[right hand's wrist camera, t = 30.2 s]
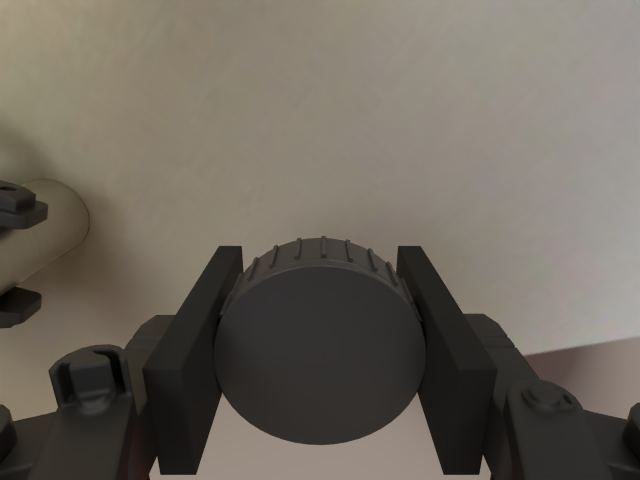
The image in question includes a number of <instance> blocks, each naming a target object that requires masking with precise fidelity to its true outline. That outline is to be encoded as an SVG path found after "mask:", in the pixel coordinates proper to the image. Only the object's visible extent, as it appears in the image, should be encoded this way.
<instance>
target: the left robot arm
mask: <svg viewBox="0 0 640 480" xmlns="http://www.w3.org/2000/svg"><path fill="white" fill-rule="evenodd" d="M47 218H48V204H46V203H44V202H41V201H37V200H36V194H35V193H34V192H32V191H30V190H29V189H27V188H26V187H22V186H19V185H15V184H11V183H8V182H4V181H0V226H4V227H8V228H12V229H18V230H23V229H29V228H31V227H33V226H35V225H37V224H39V223H41V222H43V221H45V220H47ZM41 299H42V295H41V294H40V293H37V292H34V291H30V290H26V289H22V288H18V287H13V288H12V289H10V290H9V291H7V292H6V293H4V294H3V295H1V296H0V328H11V327H12V326H13V325H16V324H20V323H23V322H24V321H26V320H27V319H28V318H29V317H31V316H32V315H33V314H34V313H36V312H37V311H38V310H39V309H40V308H41Z"/></svg>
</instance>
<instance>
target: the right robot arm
mask: <svg viewBox="0 0 640 480" xmlns="http://www.w3.org/2000/svg"><path fill="white" fill-rule="evenodd" d="M240 273H242V274H243V259H242V246H219V247H218V249H217V250H216V252H215V254H214V255H213V257H212V258H211V260H210V262H209V263H208V265H207V266H206V268H205V269H204V271H203V273H202V274H201V276H200V277H199V279H198V281H197V282H196V284H195V285H194V287H193V288H192V290H191V292H190V293H189V295H188V296H187V298H186V300H185V301H184V303H183V304H182V306H181V307H180V309H179V311H178V312H177V314H176V315H156V316H155V317H153V318H152V319H150V320H149V321H147V322H146V323H144V324H143V325H141V327H140V328H139V329H138V331H137V332H136V333H135V335H134V336H133V339H131V340H130V341H129V343H128V344H127V345H126V347H125V349H122V348H120V347H118V346H114V345H110V344H107V345H94V346H89V347H85V348H81V349H79V350H76V351H74V352H72V353H69V354H67V355H66V356H64V357H63V358H61V359H60V360H58V361H57V362H55V364H54V365H53V366H52V367H51V368H50V369H49V375H50V379H51V382H52V386H53V390H54V393H55V397H56V401H57V404H58V409H57V411H56V412H52V413H49V414H45V415H40V416H36V417H31V418H27V419H22V420H18V421H13V420H12V417H11V414H10V410H9V409H7V408H6V407H5V406H4V405H0V480H150V478H149V473H150V470H151V468H152V466H153V464H154V461H155V459H156V457H158V463H159V469H160V474H161V475H196V473H197V470H198V467H199V464H200V460H201V457H202V454H203V451H204V448H205V445H206V442H207V439H208V435H209V432H210V429H211V426H212V423H213V420H214V417H215V413H216V410H217V407H218V404H219V401H220V398H221V395H222V390H221V388H220V386H219V384H218V381H217V378H216V375H215V368H214V358H213V344H214V338H215V334H216V331H217V327H218V325H219V323H220V321H221V318H218V317H219V314H220V312H221V310H222V307H223V305H224V303H225V301H226V298H227V296H228V294H229V292H230V291H231V292H232V289H233V287H234V285H235V282H236V280H237V278H238V276H239V274H240ZM396 274H397V275H398V277H399V278H400V279H402V278H403V279H404V281H405V283H406V285H407V288H408V290H409V292H410V294H411V297H412V299H413V301H414V303H415V305H416V308H417V310H418V312H419V314H420V317H421V319H422V321H423V325H421V327H422V330H423V333H424V336H425V342H426V348H427V353H426V365H425V373H424V376H423V379H422V382H421V385H420V387H419V389H418V391H417V392H418V395H419V399H420V402H421V405H422V408H423V411H424V414H425V417H426V421H427V424H428V427H429V430H430V433H431V436H432V439H433V442H434V446H435V449H436V452H437V455H438V458H439V461H440V464H441V468H442V471H443V474H444V475H479V473H480V467H481V461H482V456H483V455H484V458H485V460H486V462H487V464H488V467H489V469H490V471H491V478H490V480H640V403H637V404H635V405H634V406H633V407H632V408H631V409H630V412H629V416H628V419H627V420H626V419H622V418H617V417H612V416H608V415H603V414H599V413H594V412H590V411H587V410H583V408H582V406H581V404H580V403H579V402H578V400H577V399H576V398H575V397H574V396H573V395H572V394H571V393H569V392H568V391H567V390H565V389H564V388H562V387H560V386H558V385H556V384H554V383H552V382H549V381H545V380H541V379H540V378H539V377H538V376H537V374H536V373H535V372H534V370H533V369H532V368H531V366H530V365H529V364H528V362H527V361H526V360H525V358H524V357H523V356H522V355H521V353H520V352H519V351H518V349H517V348H515V345H514V344H513V343H512V341H511V340H510V339H509V338H507V335H506V333H505V332H504V331H503V329H502V328H501V327H500V325H499V324H498V323H496V322H495V321H493V320H492V319H490V318H489V317H487V316H486V315H484V314H463V313H462V311H461V310H460V308H459V306H458V305H457V303H456V302H455V300H454V298H453V297H452V295H451V294H450V292H449V290H448V289H447V287H446V286H445V284H444V283H443V281H442V279H441V278H440V276H439V275H438V273H437V271H436V270H435V268H434V267H433V265H432V264H431V262H430V260H429V259H428V257H427V256H426V254H425V252H424V251H423V249H422V248H421V246H398V255H397V270H396Z"/></svg>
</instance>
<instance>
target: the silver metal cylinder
mask: <svg viewBox="0 0 640 480" xmlns="http://www.w3.org/2000/svg"><path fill="white" fill-rule="evenodd" d="M19 186H22V187H26V188H27V189H29V190H30V191H32V192H34V193H35V194H36V200H37V201H41V202H44V203H46V204H48V218H47V220H45V221H43V222H41V223H39V224H37V225H35V226H33V227H31V228H29V229H23V230H18V229H12V228H8V227H4V226H0V296H1V295H3V294H4V293H6V292H7V291H9V290H10V289H12V288H13V287H15V286H16V285H18V284H19V283H21V282H22V281H24V280H25V279H27V278H28V277H30V276H31V275H33V274H34V273H36V272H37V271H39V270H40V269H42V268H43V267H45V266H46V265H48V264H49V263H51V262H52V261H54V260H55V259H57V258H58V257H60V256H62V255H63V254H65V253H66V252H68V251H69V250H71V249H72V248H74V247H75V246H77V245H78V244H79V243H81V242H82V241H83V239H84V238H85V236H86V234H87V232H88V228H89V216H88V212H87V209H86V207H85V205H84V203H83V201H82V200H81V199H80V197H79V196H78V195H77V194H76V193H75V192H74V191H73V190H72V189H70V188H69V187H67V186H66V185H64V184H62V183H59V182H57V181H53V180H48V179H37V180H33V181H30V182H27V183H24V184H21V185H19Z"/></svg>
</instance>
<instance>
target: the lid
mask: <svg viewBox="0 0 640 480" xmlns="http://www.w3.org/2000/svg"><path fill="white" fill-rule="evenodd" d="M218 318H221V321H220V323H219V325H218V327H217V331H216V334H215V338H214V344H213V358H214V368H215V375H216V378H217V381H218V384H219V386H220V388H221V390H222V392H223V394H224V396H225V397H226V399H227V400H228V402H229V403H230V404H231V406H232V407H233V408H234V409H235V410H236V411H237V412H238V413H239V414H240V415H241V416H242V417H243V418H244V419H245V420H247V421H248V422H249V423H250V424H252V425H254V426H255V427H257V428H258V429H260V430H262V431H264V432H266V433H268V434H270V435H272V436H275V437H278V438H280V439H283V440H287V441H291V442H295V443H302V444H310V445H329V444H338V443H344V442H349V441H352V440H356V439H359V438H362V437H364V436H367V435H370V434H372V433H374V432H376V431H377V430H379V429H381V428H383V427H384V426H386V425H387V424H389V423H390V422H392V421H393V420H394V419H395V418H396V417H397V416H399V415H400V414H401V413H402V412H403V411H404V409H405V408H406V407H407V406H408V405H409V404H410V402H411V401H412V399H413V398H414V396H415V395H416V393H417V391H418V389H419V387H420V385H421V382H422V379H423V376H424V373H425V365H426V353H427V348H426V342H425V336H424V333H423V330H422V327H421V325H423V321H422V319H421V317H420V314H419V312H418V310H417V308H416V305H415V303H414V301H413V299H412V297H411V294H410V292H409V290H408V288H407V285H406V283H405V281H404V279H403V278H402V279H400V278H399V277H398V275H397V274H396V273H395V271H394V270H393V268H392V265H391V263H390V262H389V261H388V262H387V263H386V262H385V261H383V260H382V259H381V258H380V257H379V256H377V255H375V254H374V253H373V251H372V249H370V248H369V249H368V250H367V249H365V248H363V247H360V246H358V245H356V244H353V243H350V240H347V239H346V241H342V240H336V239H327V238H326V236H322V238H313V239H303V240H301V238H297V241H293V242H290V243H287V244H284V245H281V246H279V247H278V245H275V246H274V248H273V250H271V251H269V252H267V253H266V254H264V255H263V256H261V257H260V258H258V257H256V258H254V260H253V263H252V264H251V265H250V266H249V267H248V269H247V270H246V271H245V272H244V273H243V274H242V273H240V274H239V276H238V278H237V280H236V282H235V285H234V287H233V289H232V292H231V291H230V292H229V294H228V296H227V298H226V301H225V303H224V305H223V307H222V310H221V312H220V314H219V317H218Z"/></svg>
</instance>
